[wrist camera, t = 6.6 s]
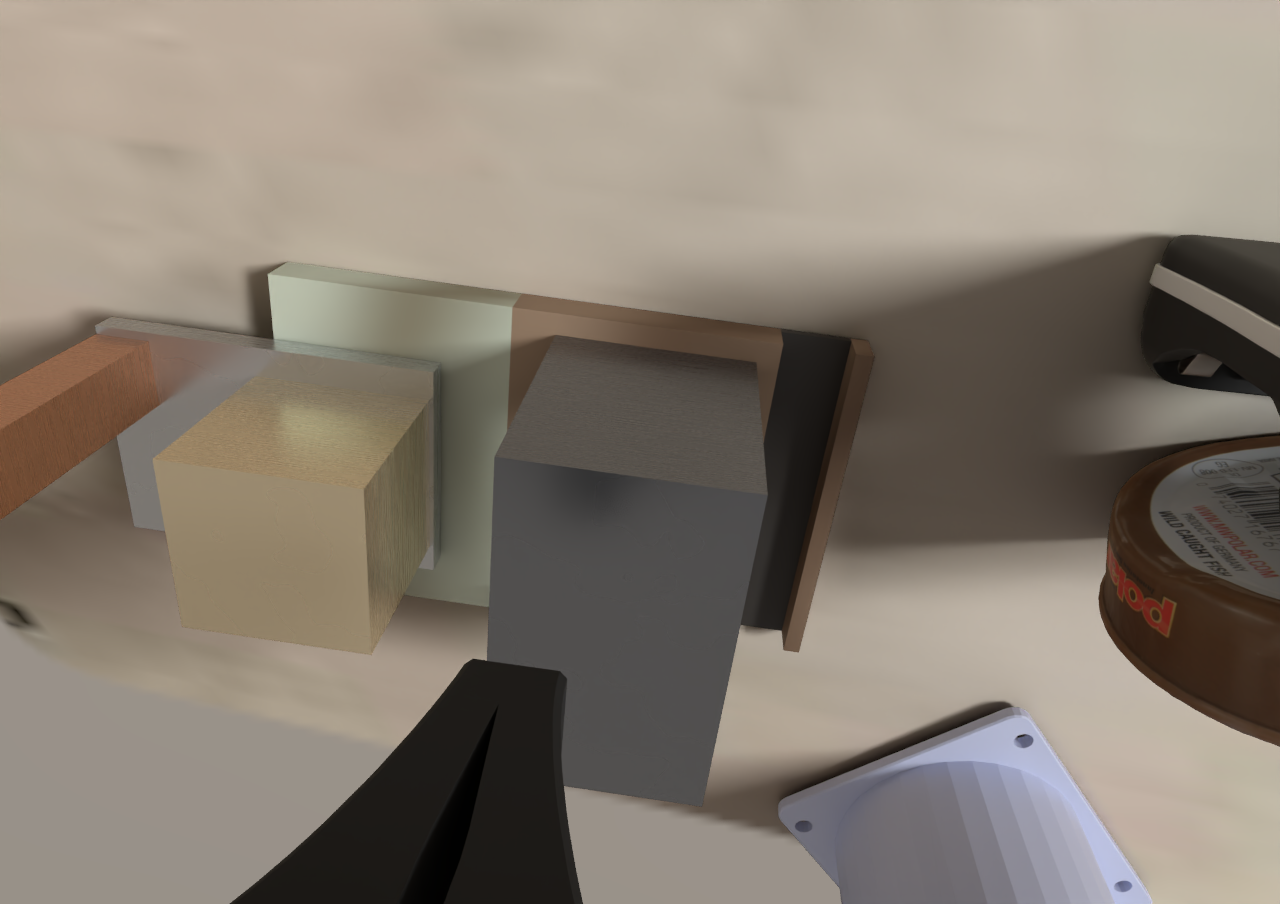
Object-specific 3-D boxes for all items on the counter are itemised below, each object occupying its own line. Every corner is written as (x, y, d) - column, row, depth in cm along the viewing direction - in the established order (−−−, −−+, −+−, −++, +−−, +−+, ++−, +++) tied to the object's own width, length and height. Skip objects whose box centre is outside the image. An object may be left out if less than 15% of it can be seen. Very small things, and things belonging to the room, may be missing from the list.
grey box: (756, 362, 19) (767, 495, 14) (707, 623, 23) (702, 806, 18) (556, 334, 19) (494, 456, 14) (537, 599, 23) (482, 773, 18)
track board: (867, 340, 20) (874, 356, 19) (796, 627, 24) (798, 652, 23) (287, 261, 20) (268, 273, 19) (312, 558, 24) (296, 579, 23)
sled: (441, 362, 20) (288, 557, 13) (440, 556, 22) (313, 806, 15) (111, 317, 20) (-212, 485, 13) (148, 514, 22) (-107, 742, 16)
